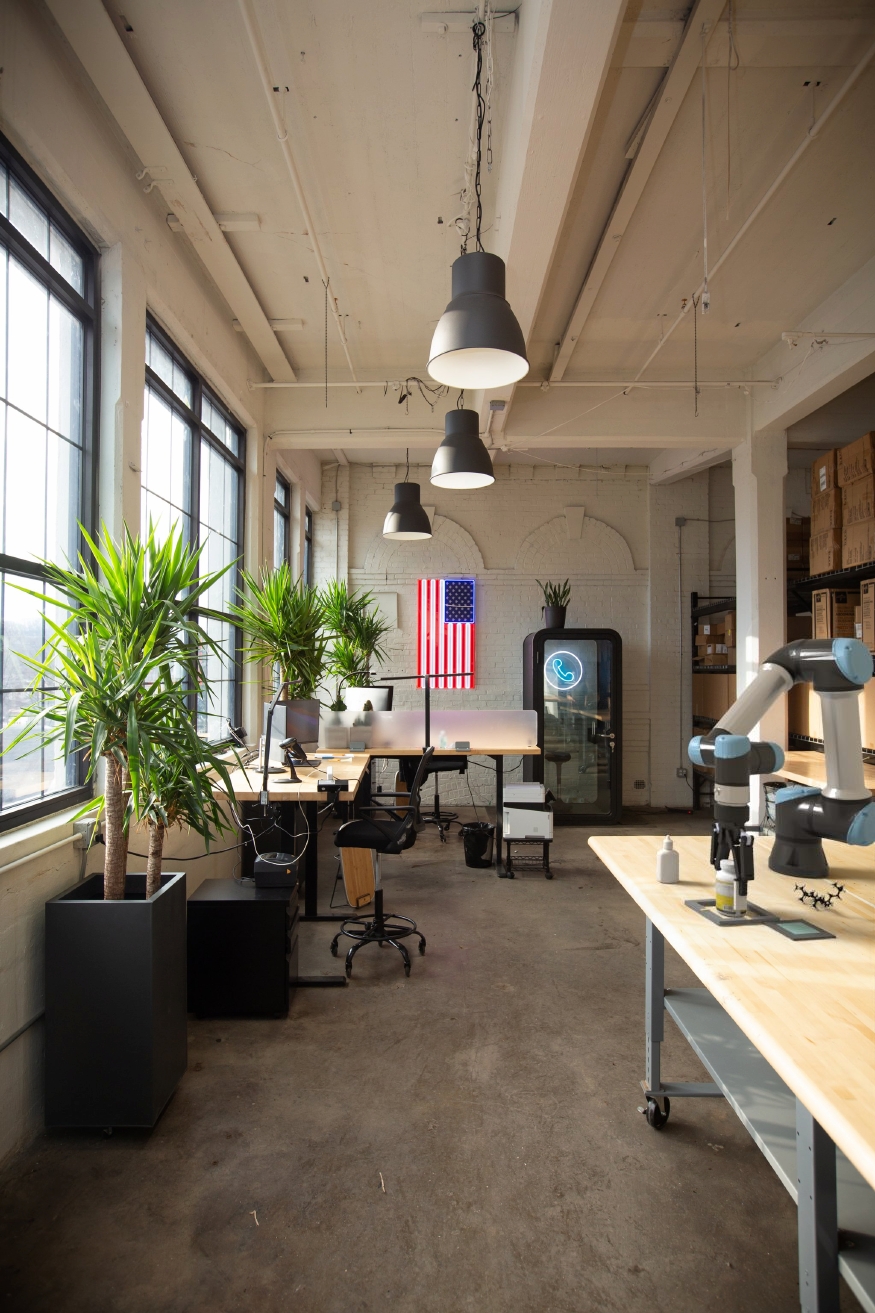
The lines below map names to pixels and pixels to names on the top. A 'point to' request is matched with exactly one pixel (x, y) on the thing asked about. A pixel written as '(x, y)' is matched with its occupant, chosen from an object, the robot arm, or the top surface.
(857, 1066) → the top surface
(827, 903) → the molecular model
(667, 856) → the eye dropper bottle
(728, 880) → the pill bottle
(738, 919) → the socket plate
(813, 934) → the mat
